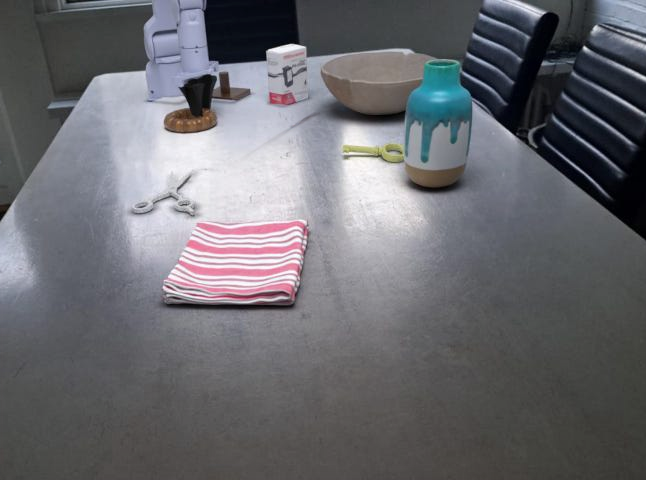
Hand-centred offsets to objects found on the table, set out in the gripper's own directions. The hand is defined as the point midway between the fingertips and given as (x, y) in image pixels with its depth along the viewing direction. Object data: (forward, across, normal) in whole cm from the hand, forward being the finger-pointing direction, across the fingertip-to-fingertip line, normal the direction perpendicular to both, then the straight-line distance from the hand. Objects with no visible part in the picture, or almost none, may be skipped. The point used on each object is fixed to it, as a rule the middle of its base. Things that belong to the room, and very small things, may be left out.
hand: (201, 113), depth 148 cm
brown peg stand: (+3, +23, +8) cm, 24 cm away
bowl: (+3, +22, -33) cm, 40 cm away
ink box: (+3, +24, -9) cm, 26 cm away
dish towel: (+3, -54, -42) cm, 69 cm away
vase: (+3, -16, -57) cm, 59 cm away
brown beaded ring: (0, -4, 0) cm, 4 cm away
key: (+3, -6, -43) cm, 44 cm away
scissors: (+2, -35, -17) cm, 39 cm away
